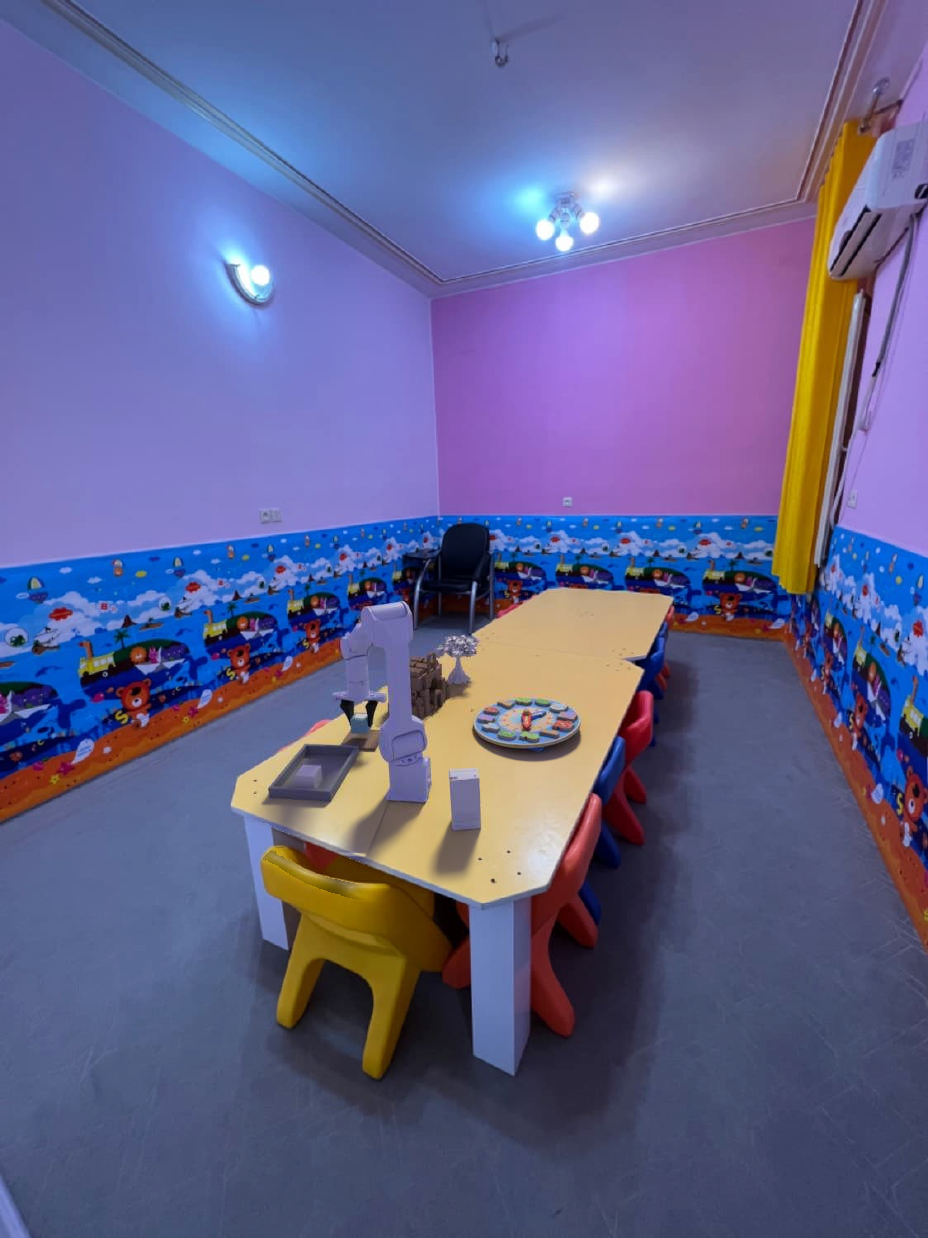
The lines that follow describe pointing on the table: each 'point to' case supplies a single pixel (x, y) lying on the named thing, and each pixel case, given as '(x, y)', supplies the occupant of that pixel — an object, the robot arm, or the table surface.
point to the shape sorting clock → (527, 723)
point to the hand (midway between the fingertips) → (361, 725)
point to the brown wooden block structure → (426, 685)
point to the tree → (457, 655)
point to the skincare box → (465, 798)
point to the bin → (334, 772)
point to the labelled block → (359, 723)
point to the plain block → (309, 776)
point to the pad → (363, 740)
